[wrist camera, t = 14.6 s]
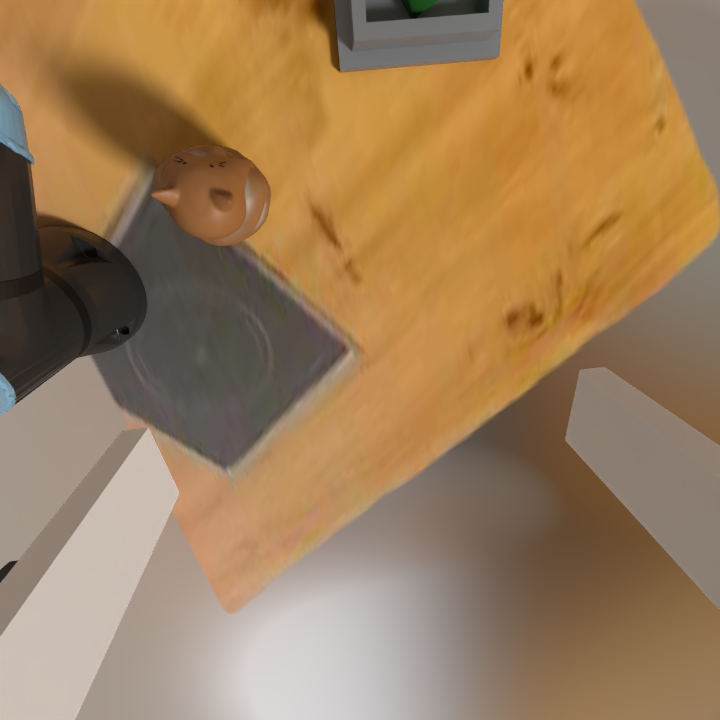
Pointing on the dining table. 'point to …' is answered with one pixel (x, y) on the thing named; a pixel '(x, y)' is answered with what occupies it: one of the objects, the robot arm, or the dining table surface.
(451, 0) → the dock
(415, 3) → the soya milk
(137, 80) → the dining table surface
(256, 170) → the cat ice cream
